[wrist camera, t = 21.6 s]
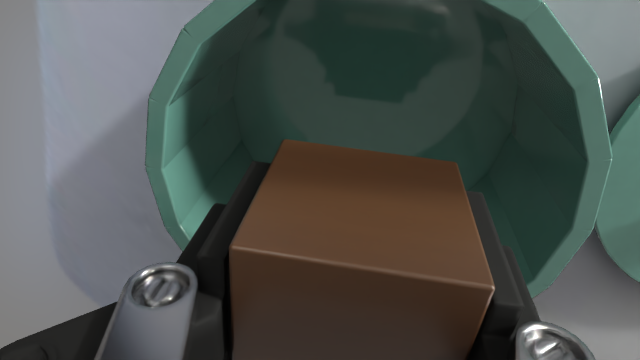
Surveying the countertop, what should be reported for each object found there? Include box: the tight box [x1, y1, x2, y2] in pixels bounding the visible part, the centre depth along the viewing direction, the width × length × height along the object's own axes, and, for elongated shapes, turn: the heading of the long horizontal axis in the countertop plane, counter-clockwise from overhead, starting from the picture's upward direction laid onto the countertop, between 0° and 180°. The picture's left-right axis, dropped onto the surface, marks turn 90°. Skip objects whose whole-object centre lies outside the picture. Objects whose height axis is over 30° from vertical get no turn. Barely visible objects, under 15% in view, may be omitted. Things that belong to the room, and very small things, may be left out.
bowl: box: [145, 0, 613, 299], centre depth 16 cm, size 13×13×8 cm
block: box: [229, 139, 495, 360], centre depth 10 cm, size 4×4×4 cm
